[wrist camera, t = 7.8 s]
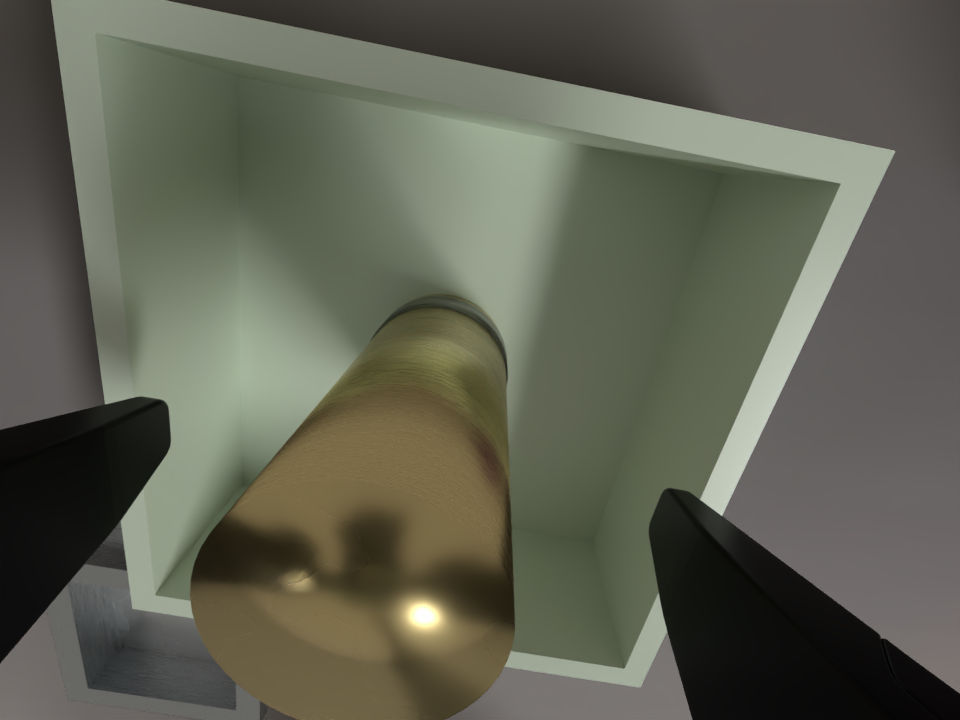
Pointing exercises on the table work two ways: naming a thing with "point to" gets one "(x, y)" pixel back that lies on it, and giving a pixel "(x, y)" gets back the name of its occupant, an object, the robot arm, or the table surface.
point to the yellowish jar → (376, 535)
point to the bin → (442, 281)
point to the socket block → (137, 649)
